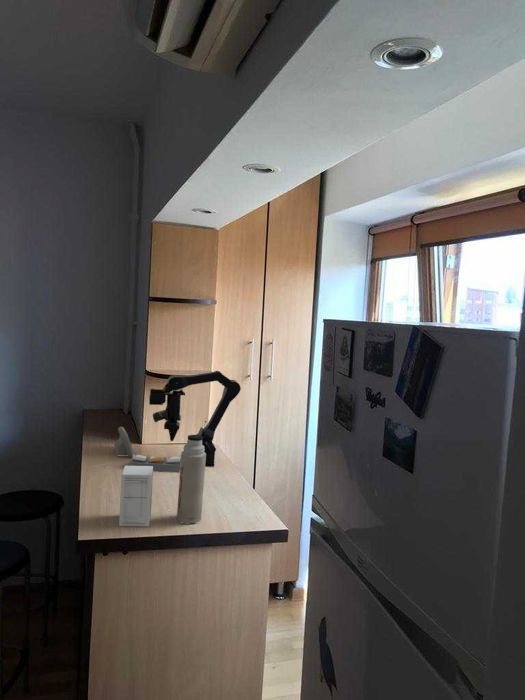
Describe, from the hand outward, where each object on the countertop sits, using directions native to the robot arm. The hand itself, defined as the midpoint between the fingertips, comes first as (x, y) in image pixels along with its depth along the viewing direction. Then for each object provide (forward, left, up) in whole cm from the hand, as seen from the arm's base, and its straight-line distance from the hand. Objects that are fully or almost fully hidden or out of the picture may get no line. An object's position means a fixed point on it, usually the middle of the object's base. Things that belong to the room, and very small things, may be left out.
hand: (171, 440), depth 236 cm
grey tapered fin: (+21, -12, -11) cm, 26 cm away
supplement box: (+6, +61, -10) cm, 62 cm away
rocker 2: (-2, +8, -6) cm, 10 cm away
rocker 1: (+12, +8, -6) cm, 16 cm away
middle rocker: (+5, +8, -6) cm, 11 cm away
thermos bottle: (-11, +58, -10) cm, 60 cm away
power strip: (+5, +6, -10) cm, 13 cm away
